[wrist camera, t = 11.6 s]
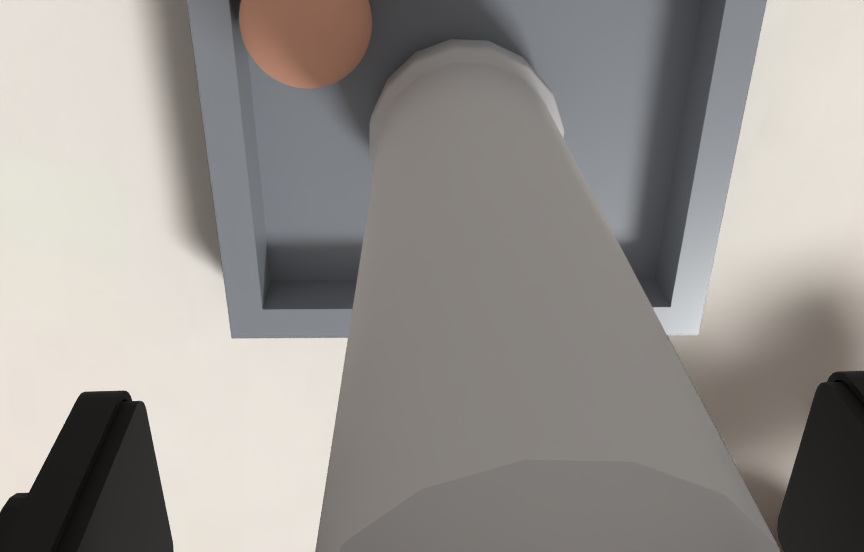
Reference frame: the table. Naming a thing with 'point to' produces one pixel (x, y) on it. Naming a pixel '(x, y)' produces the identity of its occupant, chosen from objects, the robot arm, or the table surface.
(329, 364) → the table surface
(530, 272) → the bottle
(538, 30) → the tray
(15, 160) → the table surface
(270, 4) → the ball
